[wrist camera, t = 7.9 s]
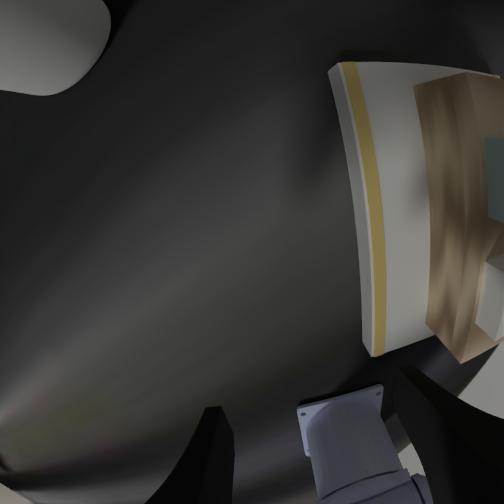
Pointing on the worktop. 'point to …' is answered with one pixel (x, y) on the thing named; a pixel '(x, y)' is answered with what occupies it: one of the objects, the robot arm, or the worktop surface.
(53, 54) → the pill bottle
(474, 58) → the worktop surface
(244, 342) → the worktop surface
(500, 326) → the crate
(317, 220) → the worktop surface
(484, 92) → the tan notched block
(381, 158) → the dock
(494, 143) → the block
